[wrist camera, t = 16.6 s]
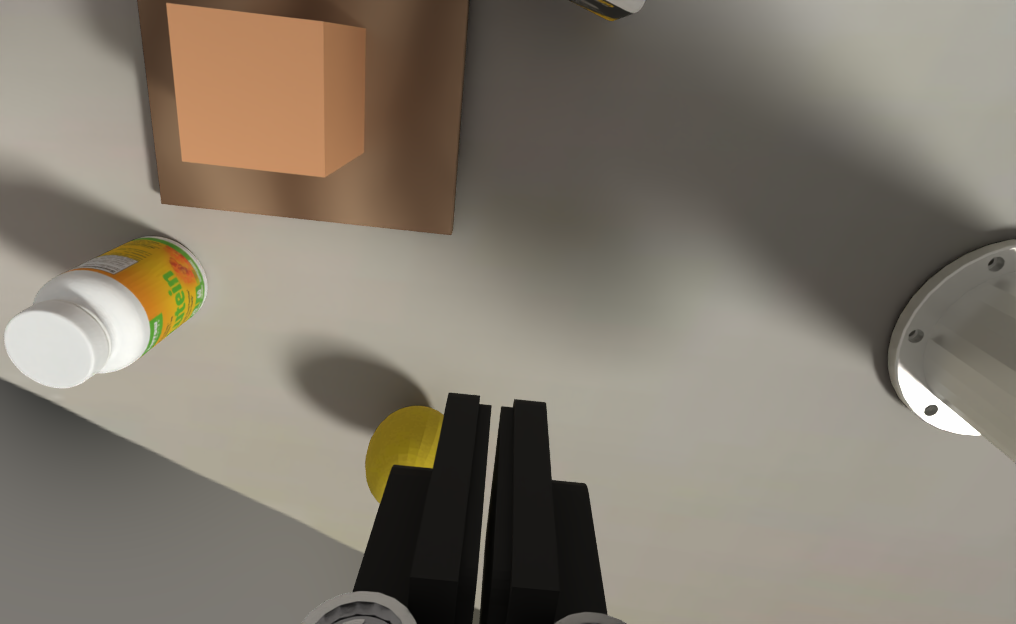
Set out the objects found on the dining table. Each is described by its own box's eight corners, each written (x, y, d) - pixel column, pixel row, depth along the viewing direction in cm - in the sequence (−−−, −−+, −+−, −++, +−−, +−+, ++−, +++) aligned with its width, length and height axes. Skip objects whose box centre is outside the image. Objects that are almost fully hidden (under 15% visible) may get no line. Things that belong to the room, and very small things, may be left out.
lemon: (431, 368, 38) (411, 442, 31) (482, 430, 40) (474, 514, 33) (364, 409, 40) (328, 491, 32) (416, 467, 41) (393, 557, 34)
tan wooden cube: (365, 28, 30) (323, 21, 23) (364, 152, 32) (324, 177, 26) (243, 13, 30) (166, 2, 23) (250, 139, 32) (182, 161, 26)
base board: (473, -51, 29) (471, -54, 28) (452, 230, 35) (451, 235, 34) (138, -91, 29) (125, -96, 28) (171, 199, 34) (161, 203, 33)
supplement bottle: (216, 321, 37) (120, 405, 28) (128, 316, 37) (5, 399, 28) (203, 236, 35) (95, 298, 26) (110, 231, 35) (-30, 292, 26)
